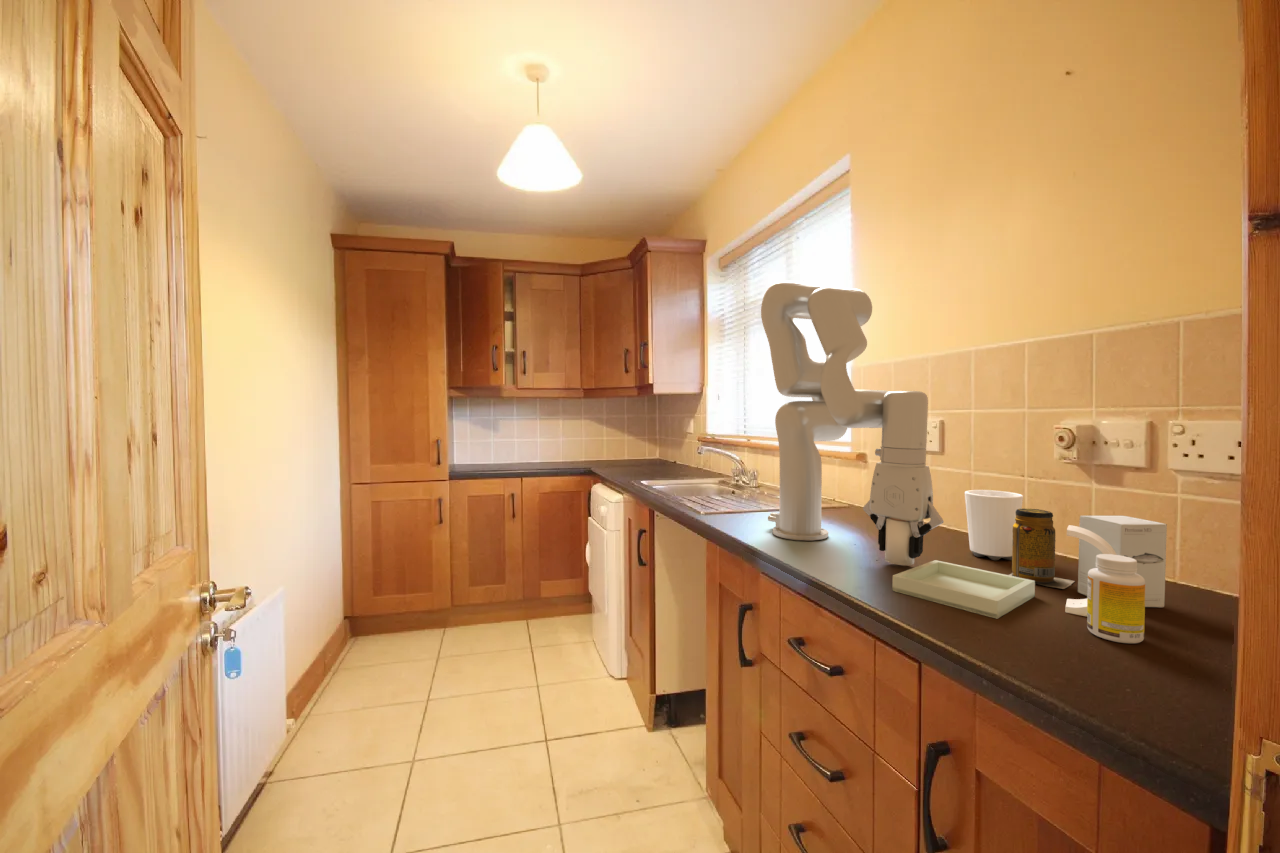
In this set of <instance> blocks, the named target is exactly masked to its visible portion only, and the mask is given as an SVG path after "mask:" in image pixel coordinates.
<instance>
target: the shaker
mask: <svg viewBox="0 0 1280 853" xmlns="http://www.w3.org/2000/svg"><path fill="white" fill-rule="evenodd" d="M912 534H913V533H912V529H911V525H910V521H906V520H900V519H895V518H890V517H886V540H885V551H884V561H885V562H887V563H889V564H893V565H899V566H912V565H915V558H914V559H913V558H910V557H909V538H910V537H911V536H912Z"/></svg>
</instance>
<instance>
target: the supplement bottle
mask: <svg viewBox="0 0 1280 853" xmlns="http://www.w3.org/2000/svg"><path fill="white" fill-rule="evenodd" d="M1096 567H1097V568H1093V569H1090V570H1089V571H1088V593H1087V596H1086V598H1087V616H1086V617H1087V618H1086V619H1087V620H1086V627H1087V629H1088V630H1087V631H1089V632H1090V633H1091V634H1092V635H1094V636H1096V637H1098V638H1100V639H1101V638H1102V639H1103V640H1108V641H1111V642H1115V643H1121V644H1140V643H1141V642H1143V641H1144V639H1145V623H1146V622H1145V617H1146V615H1145V614H1146V607H1145V579H1144V578H1143V577H1142V576H1140V575H1139V574H1136V573H1137V561H1136V560H1135V559H1133V558H1130V557H1126V556H1120V555H1113V554H1099V555H1097V556H1096Z"/></svg>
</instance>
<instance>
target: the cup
mask: <svg viewBox="0 0 1280 853" xmlns="http://www.w3.org/2000/svg"><path fill="white" fill-rule="evenodd" d="M1023 501H1024V495H1023V494H1021V493H1017V492H1013V491H1012V492H1011V491H1005V490H1004V491H1002V490H992V489H972V490H965V491H964V502H965V510H966V511H965V513H966V521H967V524H966V525H967V532H968V533H967V535H968V541H969V542H968V544H969V550H970V551H971V553H972V554H973V556H974V557H976V558H983V557H985V556H986V557H988V558H989V559H990V560H992V561H1000V559H1003V560H1006V561H1012V547H1013V546H1012V545H1013V544H1012V543H1013V532H1012V531H1013V525H1014V524H1015V523H1016V520H1015V518H1016V510H1017V509H1023V508H1022V507H1023Z"/></svg>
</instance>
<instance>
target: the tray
mask: <svg viewBox="0 0 1280 853" xmlns="http://www.w3.org/2000/svg"><path fill="white" fill-rule="evenodd" d="M891 586H892V589H891V590H892V592H895V593H900V594H903V595H907V596H909V597H910V596H911V597H914V598H918V599H921V600H926V601H929V602H932V603H937V604H940V605H945V606H948V607H952V608H955V609H959V610H963V611H966V612H970V613H974V614H977V615H981V616H984V617H985V616H986V617H988V618H992V619H996V620H997V619H1000V618H1001V617H1002V616H1004V615H1006V614H1008V613H1009V612H1011V611H1013V610H1014V609H1017V608H1019V607H1020V606H1021V605H1023V604H1024V603H1027V602H1028V601H1030V600H1032V599H1033V598H1035V596H1036V595H1035V594H1036V590H1035V589H1036V584H1035V581H1034V580H1029V579H1024V578H1019V577H1014V576H1010V575H1009V574H1005V573H999V572H995V571H990V570H986V569H981V568H975V567H970V566H966V565H961V564H956V563H951V562H946V561H941V560H937V559H935V560H931V561H928V562H926V563H923V564H920V565H917V566H916V567H912V568H909V569H906V570H904V571H901V572H899V573H896V574H893V575H892V584H891Z"/></svg>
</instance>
